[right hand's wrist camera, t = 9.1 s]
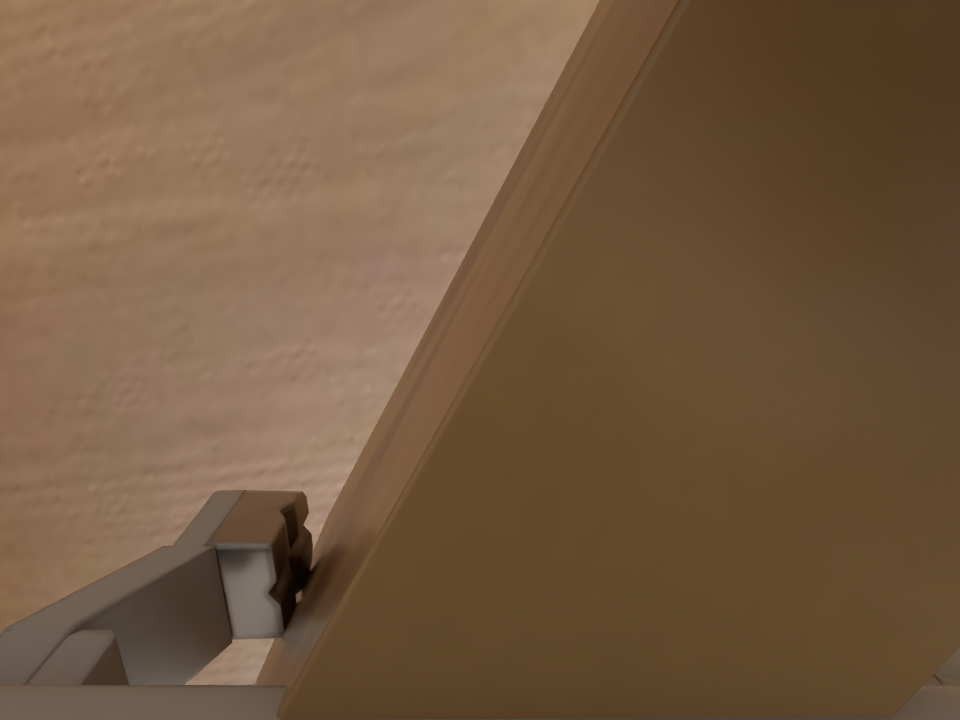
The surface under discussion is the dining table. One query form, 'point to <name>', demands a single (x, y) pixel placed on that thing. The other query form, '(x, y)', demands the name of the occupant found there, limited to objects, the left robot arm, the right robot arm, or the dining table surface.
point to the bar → (676, 396)
